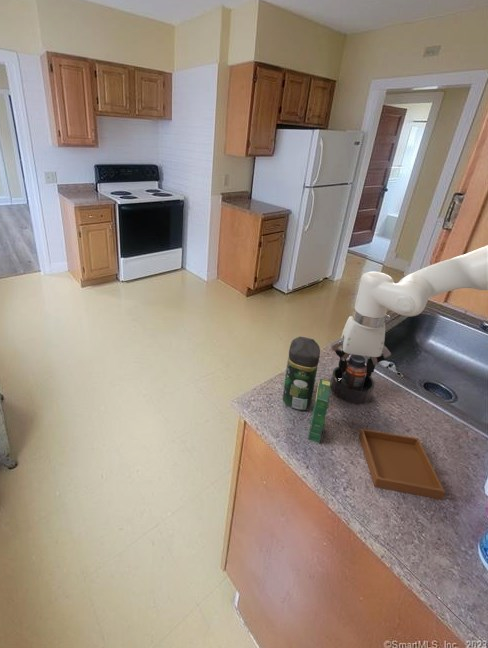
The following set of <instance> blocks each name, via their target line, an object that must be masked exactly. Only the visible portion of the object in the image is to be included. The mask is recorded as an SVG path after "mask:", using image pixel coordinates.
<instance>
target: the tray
mask: <svg viewBox="0 0 488 648" xmlns="http://www.w3.org/2000/svg"><path fill="white" fill-rule="evenodd" d="M358 437H359V441H360V443H361V448H362V450H363V454H364V458H365V460H366V464H367V468H368V470H369V474H370V477H371V480H372V484H373V487H374V488H379V489H385V490H389V491H394V492H400V493H403V494H404V493H405V494H410V495H414V496H415V495H416V496H420V497H424V498H431V499H436V500H440V501H441V500H443V498H444V495H445V493H446V491H445V489H444V486H443V485H442V483H441V481H440V479H439V476H438V475H437V473H436V471H435V469H434V467H433V464H432V462H431V461H430V459H429V457H428V454H427V453H426V451H425V448H424V447H423V445H422V443H421V440H420V438H419V437H415V436H408V435H402V434H397V433H390V432H385V431H378V430H373V429H366V428H360V430H359V434H358Z"/></svg>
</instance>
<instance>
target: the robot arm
mask: <svg viewBox="0 0 488 648" xmlns="http://www.w3.org/2000/svg"><path fill="white" fill-rule="evenodd" d="M459 289H460V290H461V289H474V290H477V291H478V290H479V291H488V245H485V246H482V247H480V248H477V249H475V250H472V251H469V252H467V253H465V254H461V255H457V256H454V257H452V258H449V259H446V260H441V261H439V262H435V263H433V264H431V265H430V264H429V265H428V266H426V267H423V268H421V269H418V270H416V271H414V272H412V273H409V274H407V275H405V276H404V277H402V278H401V279H400V280H399V281H398V282H396V283H395V281H394V279H393V277H392V276H390V275H388V274H387V273H384V272H380V271H367V272H364V273H363V274H362V276H361V277H360V282H359V286H358V291H357V295H356V300H355V304H354V308H353V312H352V315H350V316H348V318H347V320H346V322H345V324H344V327H343V330H342V333H341V336H340V338H338V339H337V340H335V341H334V342H331V343H330V348H331V349H332V351H333V352H335V354H336V355H337V356H338V358H339V359H338V360H339V361H338V367H339V368H341V371H342V373H344V372H345V369H346V365H347V360H348V359H349V357H350V356H351V355H352V354H354V355H361V356H363V357H369V358H367V361H366V363H365V365H366V366H367V375H368V376H370V377H372V374H373V373H374V371H375V368H376V366H378V364H379V363H381V362H383V361H384V360H385V359H387V358H389V357H390V356H392V352H391V351H390V349H388V347H386V345H385V338H386V322H387V321H391V315H388V314H387V312H388V310H390V311H391V312H394V313H396V314H398V315H400V316H404V317H416V316H419V315H420V314H421V313H422V312H423V311H424V310H425V308H426V305H427V303H428V301H429V299H431V298H433V297H436V296H439V295H442V294H445V293H447V292H450V291H455V290H459ZM341 346H342V349H340V347H341Z"/></svg>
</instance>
